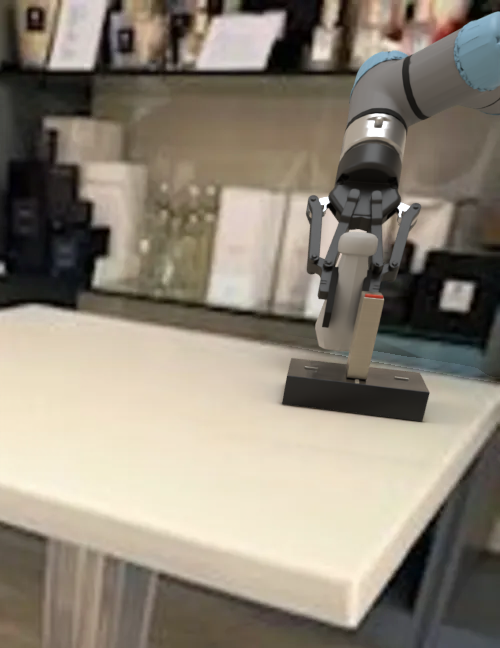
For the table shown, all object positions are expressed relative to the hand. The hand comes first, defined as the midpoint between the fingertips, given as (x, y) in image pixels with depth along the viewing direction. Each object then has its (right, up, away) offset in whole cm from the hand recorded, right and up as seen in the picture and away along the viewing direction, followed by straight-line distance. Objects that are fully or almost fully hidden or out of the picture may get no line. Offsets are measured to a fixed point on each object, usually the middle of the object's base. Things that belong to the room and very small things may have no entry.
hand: (343, 321), depth 101 cm
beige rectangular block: (-1, -8, -8) cm, 11 cm away
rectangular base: (-1, -11, -6) cm, 13 cm away
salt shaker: (+1, -2, +5) cm, 5 cm away
